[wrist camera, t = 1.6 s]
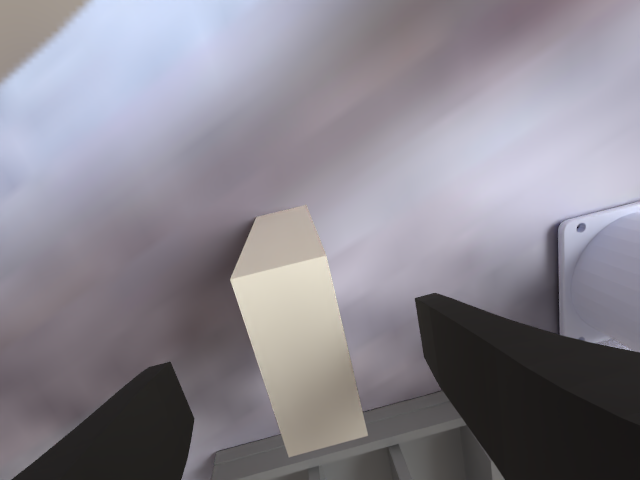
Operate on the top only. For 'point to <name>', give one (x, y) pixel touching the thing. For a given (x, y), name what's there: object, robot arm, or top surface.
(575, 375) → the robot arm
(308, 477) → the dish rack
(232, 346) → the top surface
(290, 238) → the cream rectangular block
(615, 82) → the top surface
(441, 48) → the top surface
